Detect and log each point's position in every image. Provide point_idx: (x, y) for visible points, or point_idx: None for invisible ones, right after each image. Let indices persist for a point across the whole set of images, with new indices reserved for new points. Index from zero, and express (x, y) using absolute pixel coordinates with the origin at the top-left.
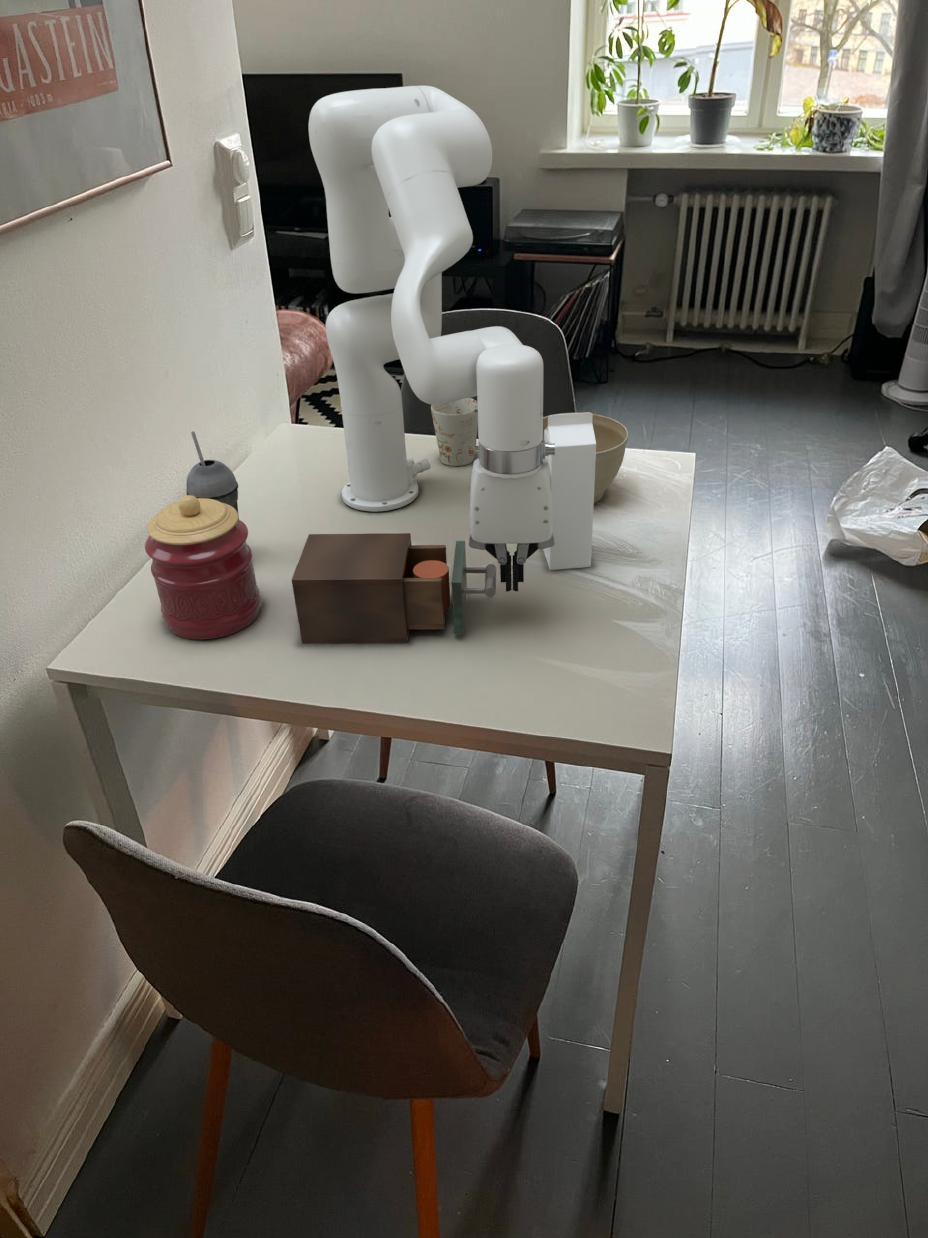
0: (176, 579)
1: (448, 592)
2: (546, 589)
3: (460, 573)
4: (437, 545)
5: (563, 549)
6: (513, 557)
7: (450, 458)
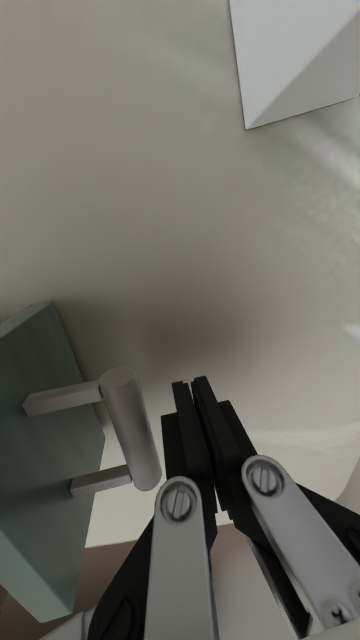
0: None
1: None
2: (236, 236)
3: (47, 593)
4: None
5: (331, 76)
6: (221, 473)
7: None
